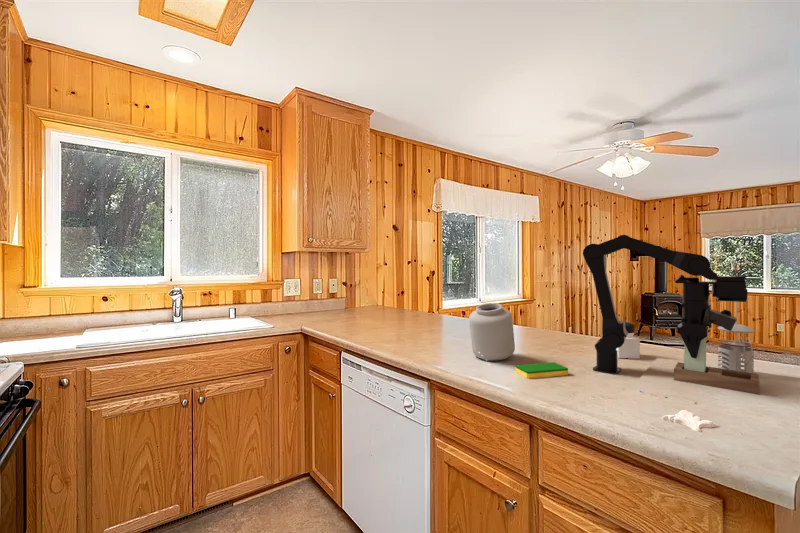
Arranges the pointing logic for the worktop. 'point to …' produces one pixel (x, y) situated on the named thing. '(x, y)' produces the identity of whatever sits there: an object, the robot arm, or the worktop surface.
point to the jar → (492, 332)
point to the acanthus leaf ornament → (689, 420)
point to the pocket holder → (719, 378)
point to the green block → (698, 362)
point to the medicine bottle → (630, 344)
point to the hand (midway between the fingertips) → (694, 356)
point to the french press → (736, 350)
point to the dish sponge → (541, 370)
